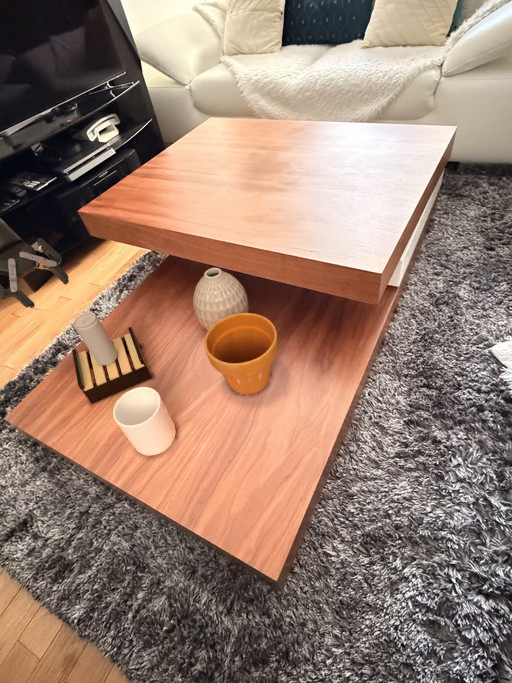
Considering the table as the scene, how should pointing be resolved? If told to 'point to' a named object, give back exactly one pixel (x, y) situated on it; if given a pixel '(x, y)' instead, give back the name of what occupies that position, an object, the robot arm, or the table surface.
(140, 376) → the rack
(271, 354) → the flower pot
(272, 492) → the table surface
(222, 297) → the vase
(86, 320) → the beverage can
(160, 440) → the mug
